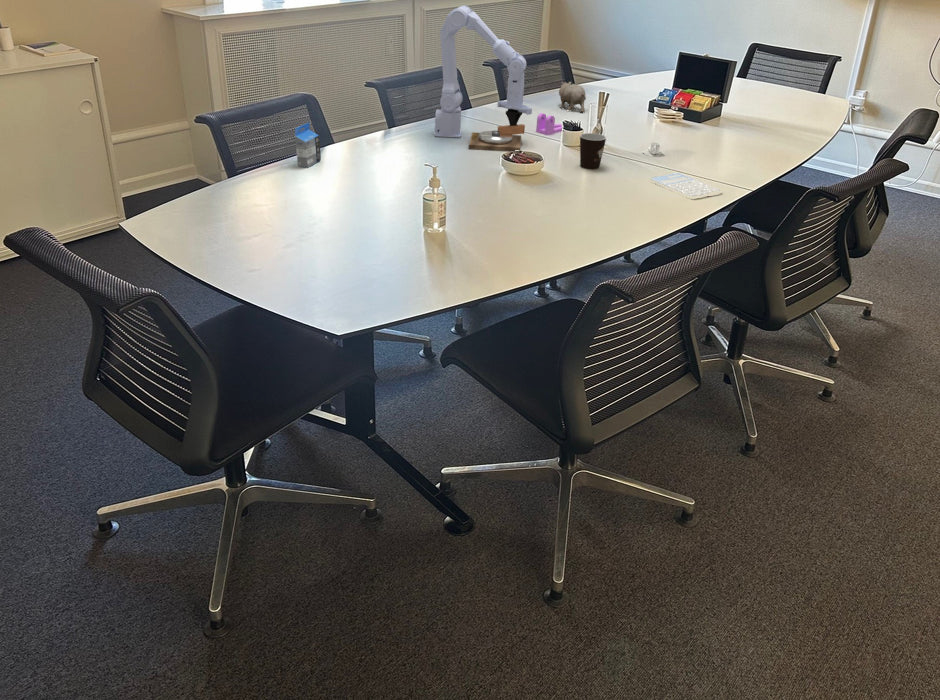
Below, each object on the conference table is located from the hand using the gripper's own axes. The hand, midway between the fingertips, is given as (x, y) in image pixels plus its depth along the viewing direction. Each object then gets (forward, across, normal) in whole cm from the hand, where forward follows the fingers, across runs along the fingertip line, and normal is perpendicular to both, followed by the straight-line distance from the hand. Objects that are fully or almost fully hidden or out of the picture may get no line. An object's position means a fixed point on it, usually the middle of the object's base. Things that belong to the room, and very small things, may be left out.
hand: (513, 130), depth 295 cm
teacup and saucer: (+4, +44, +30) cm, 54 cm away
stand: (+4, -1, -8) cm, 9 cm away
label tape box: (+4, -25, -72) cm, 77 cm away
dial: (+2, 0, -6) cm, 6 cm away
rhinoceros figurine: (+4, -17, +57) cm, 60 cm away
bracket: (+4, +1, +23) cm, 23 cm away
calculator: (+4, +70, +3) cm, 70 cm away
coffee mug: (+4, +37, -1) cm, 37 cm away
